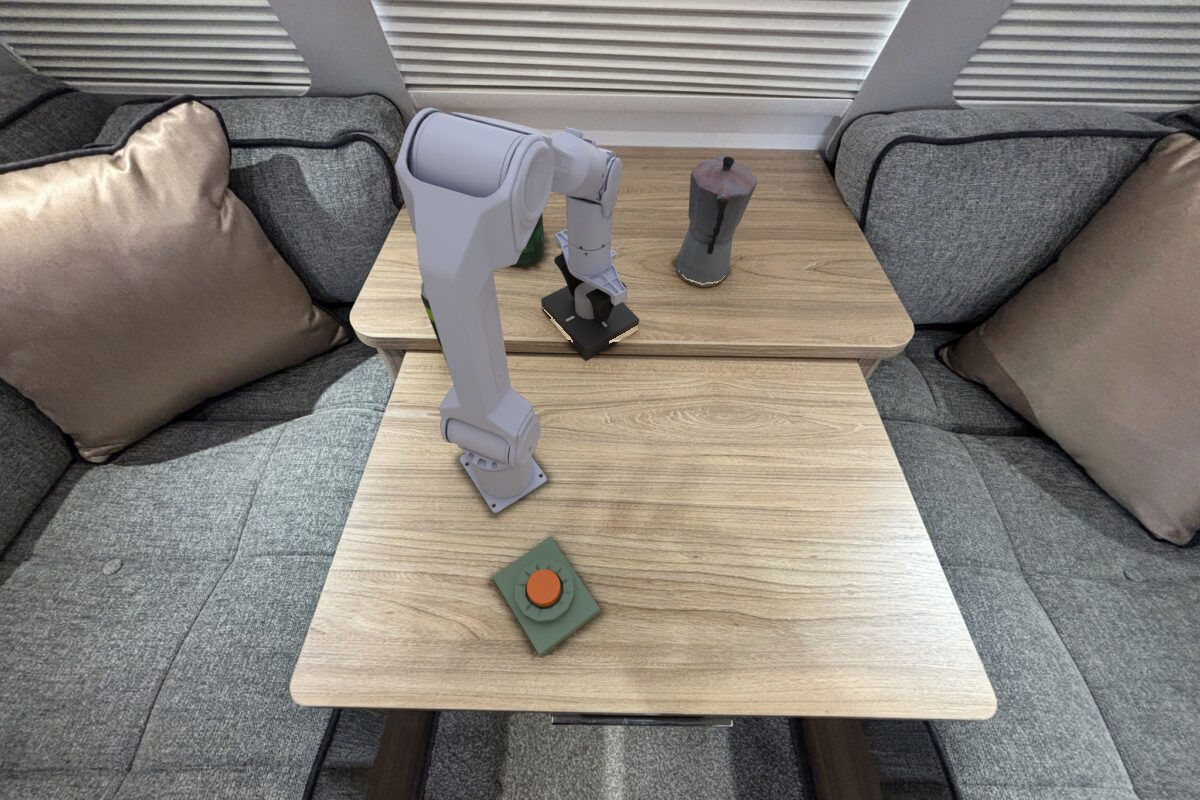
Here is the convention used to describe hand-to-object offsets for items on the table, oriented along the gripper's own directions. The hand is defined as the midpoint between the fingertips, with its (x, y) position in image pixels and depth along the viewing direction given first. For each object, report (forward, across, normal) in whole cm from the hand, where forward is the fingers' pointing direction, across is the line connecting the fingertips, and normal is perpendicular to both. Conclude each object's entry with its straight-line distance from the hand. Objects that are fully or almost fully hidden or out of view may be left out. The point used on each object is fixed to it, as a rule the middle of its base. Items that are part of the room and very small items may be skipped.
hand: (589, 306), depth 81 cm
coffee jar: (+4, +20, 0) cm, 20 cm away
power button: (0, -31, +28) cm, 42 cm away
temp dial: (0, 0, 0) cm, 0 cm away
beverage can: (+4, +5, +19) cm, 20 cm away
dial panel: (+3, 0, 0) cm, 3 cm away
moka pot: (+4, -2, -22) cm, 22 cm away
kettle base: (+3, -31, +28) cm, 42 cm away
